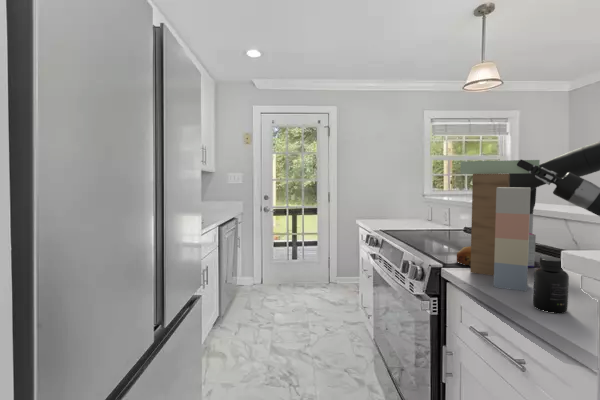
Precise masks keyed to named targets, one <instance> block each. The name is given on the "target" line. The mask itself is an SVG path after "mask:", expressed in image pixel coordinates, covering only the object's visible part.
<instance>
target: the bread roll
mask: <svg viewBox="0 0 600 400" xmlns="http://www.w3.org/2000/svg"><path fill="white" fill-rule="evenodd" d="M457 262H459V263H462V264H465V265H464V266H466V265H469V266H468V267H471V245H469V246H464V247H462V248H461V249H460V250H459V251H457V252H456V263H457Z"/></svg>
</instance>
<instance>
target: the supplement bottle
mask: <svg viewBox="0 0 600 400" xmlns="http://www.w3.org/2000/svg"><path fill="white" fill-rule="evenodd" d="M561 259H562V258H559V257H553V256H540V257H539V266H540V267H539V268H536V269H535V270H534V273H533V274H534V275H533V295H532V305H533V307H534V308H535V307H536V308H538V309H540V310H539V311H541V310H544V311H548V312H554V313H553V314H557V313H559V314H564V312H565V313H566V312H568V306H569V305H568V304H569V285H570V276H569V274H568V272H567V271H565V270H564V269H562V268H561ZM536 308H535V309H536ZM538 309H537V310H538ZM544 311H543V312H544ZM548 312H547V313H548Z"/></svg>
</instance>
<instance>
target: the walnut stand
mask: <svg viewBox="0 0 600 400" xmlns="http://www.w3.org/2000/svg"><path fill="white" fill-rule="evenodd" d="M498 187H510V174H472V189H471V192H472V193H471V194H472V197H471V200H472V201H471V232H470V233H471V234H470V235H471V238H470V241H471V242H470V246H471V266H470V270H469V271H470V272H469V273H471V274H481V275H488V276H494V257H495V222H496V188H498Z"/></svg>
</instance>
